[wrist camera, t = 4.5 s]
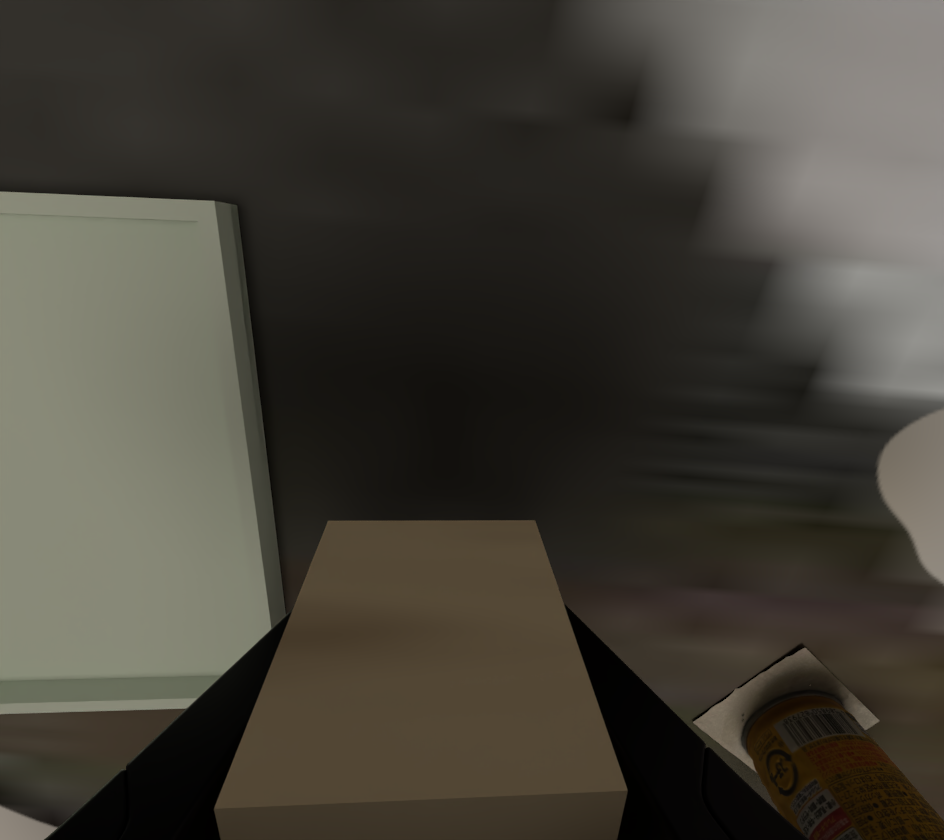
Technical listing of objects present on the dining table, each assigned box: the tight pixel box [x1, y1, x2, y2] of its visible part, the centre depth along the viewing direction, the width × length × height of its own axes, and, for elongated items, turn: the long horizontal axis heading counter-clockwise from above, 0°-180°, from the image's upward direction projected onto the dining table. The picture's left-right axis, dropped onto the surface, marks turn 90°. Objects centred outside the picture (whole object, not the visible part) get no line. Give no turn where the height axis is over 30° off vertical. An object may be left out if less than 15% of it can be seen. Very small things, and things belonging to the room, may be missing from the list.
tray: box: [0, 192, 286, 714], centre depth 19 cm, size 21×14×2 cm
